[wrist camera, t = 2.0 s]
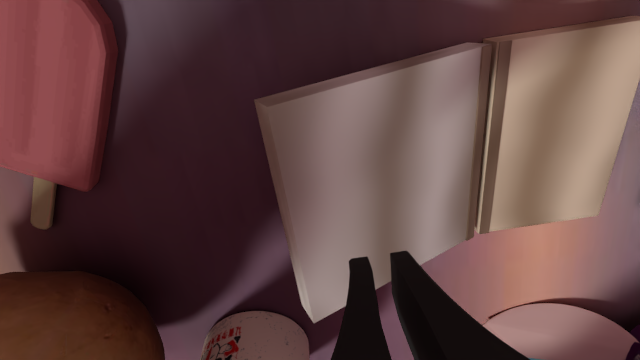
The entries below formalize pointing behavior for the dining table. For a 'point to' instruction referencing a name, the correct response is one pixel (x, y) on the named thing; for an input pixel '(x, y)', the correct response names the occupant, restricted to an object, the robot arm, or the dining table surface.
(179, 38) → the dining table surface
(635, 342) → the mauve lumpy shape
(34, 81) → the popsicle
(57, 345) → the butternut squash
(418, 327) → the robot arm
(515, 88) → the laid board
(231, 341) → the teacup with lid
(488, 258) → the dining table surface
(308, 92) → the beige flat square block
